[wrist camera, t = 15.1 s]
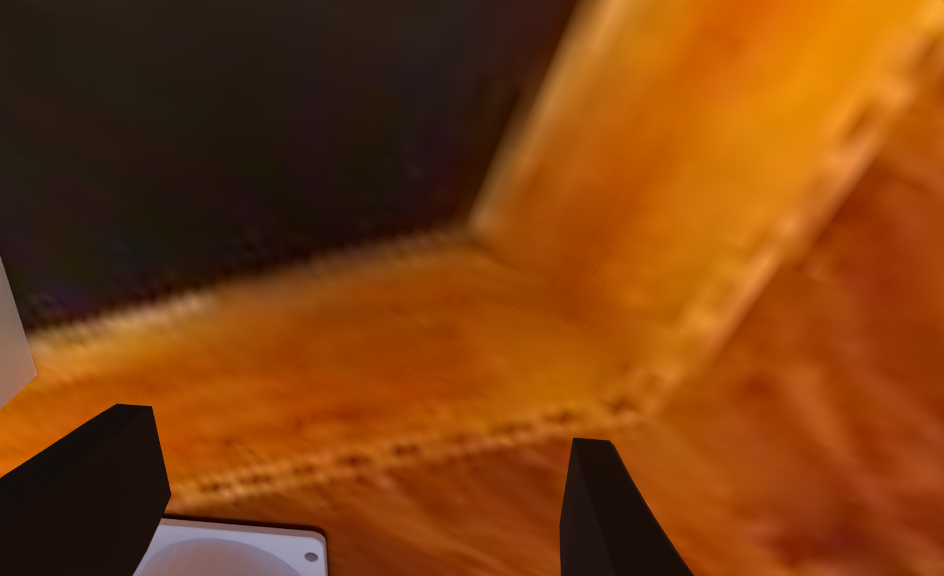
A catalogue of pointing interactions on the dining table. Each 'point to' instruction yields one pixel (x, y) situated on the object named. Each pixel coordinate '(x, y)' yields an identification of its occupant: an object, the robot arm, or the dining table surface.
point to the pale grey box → (12, 346)
